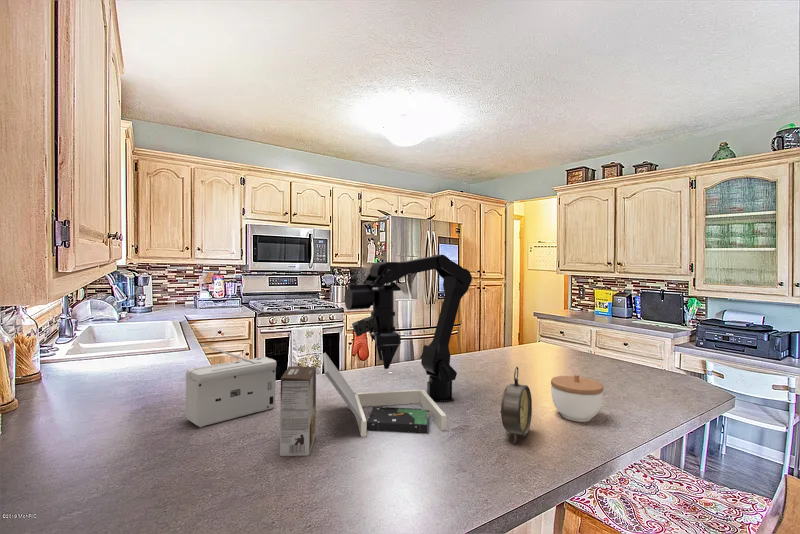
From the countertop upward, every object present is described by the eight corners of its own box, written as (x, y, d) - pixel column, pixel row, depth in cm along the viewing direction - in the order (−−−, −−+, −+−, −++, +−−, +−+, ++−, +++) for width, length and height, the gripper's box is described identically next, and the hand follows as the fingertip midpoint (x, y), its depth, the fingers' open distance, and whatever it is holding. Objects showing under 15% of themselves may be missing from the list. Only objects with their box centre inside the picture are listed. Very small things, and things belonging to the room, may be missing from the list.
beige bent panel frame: (423, 401, 113) (423, 348, 113) (446, 430, 93) (447, 366, 93) (321, 407, 107) (322, 352, 107) (323, 439, 87) (324, 371, 87)
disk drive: (366, 433, 92) (429, 435, 91) (366, 421, 92) (429, 423, 91) (372, 416, 103) (429, 418, 102) (372, 406, 103) (429, 407, 102)
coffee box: (287, 437, 88) (288, 365, 88) (316, 436, 89) (317, 365, 89) (278, 456, 79) (279, 377, 79) (310, 456, 80) (311, 377, 80)
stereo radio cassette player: (264, 401, 111) (265, 331, 111) (278, 409, 105) (279, 335, 105) (184, 421, 97) (185, 340, 97) (195, 431, 91) (196, 345, 91)
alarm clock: (520, 448, 85) (522, 373, 85) (496, 442, 88) (497, 369, 88) (532, 430, 94) (534, 363, 94) (510, 425, 97) (511, 360, 97)
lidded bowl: (598, 411, 107) (599, 371, 107) (606, 429, 95) (607, 384, 95) (549, 405, 111) (550, 366, 111) (551, 422, 99) (552, 378, 99)
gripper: (351, 304, 115) (351, 357, 115) (356, 313, 96) (357, 375, 97) (388, 303, 117) (389, 355, 117) (400, 311, 98) (401, 373, 99)
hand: (383, 364), depth 107 cm, fingers open, 9 cm apart
